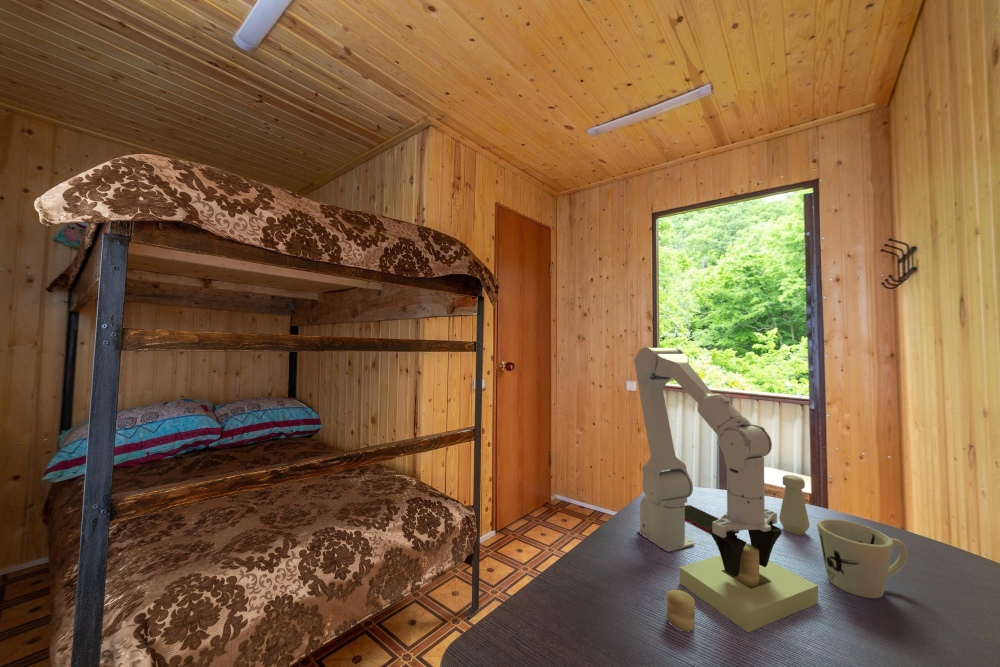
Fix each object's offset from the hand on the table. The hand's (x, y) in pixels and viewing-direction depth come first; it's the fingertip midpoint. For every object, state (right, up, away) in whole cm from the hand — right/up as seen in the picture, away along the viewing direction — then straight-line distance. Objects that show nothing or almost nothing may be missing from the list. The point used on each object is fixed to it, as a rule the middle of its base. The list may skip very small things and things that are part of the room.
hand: (745, 568), depth 68 cm
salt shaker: (+26, -5, +23) cm, 35 cm away
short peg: (-15, -4, -7) cm, 18 cm away
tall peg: (0, -4, 0) cm, 4 cm away
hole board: (0, -4, 0) cm, 4 cm away
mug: (+24, -5, +2) cm, 24 cm away
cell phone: (+7, -6, +28) cm, 29 cm away
